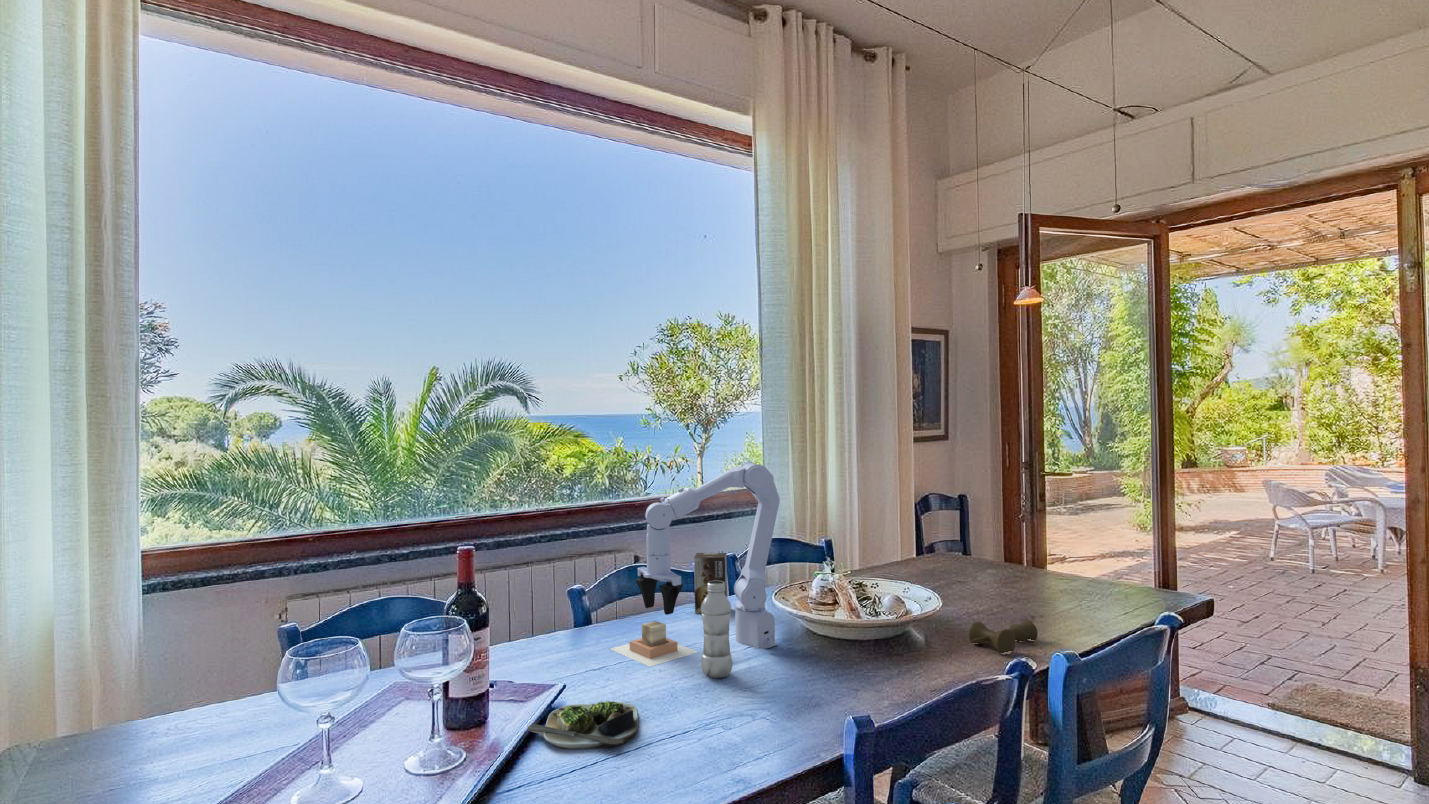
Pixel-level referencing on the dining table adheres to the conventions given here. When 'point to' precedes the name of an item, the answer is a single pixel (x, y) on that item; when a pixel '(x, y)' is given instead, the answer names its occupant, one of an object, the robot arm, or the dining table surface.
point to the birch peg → (653, 634)
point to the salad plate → (590, 725)
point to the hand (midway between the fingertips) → (659, 610)
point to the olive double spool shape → (1002, 635)
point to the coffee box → (708, 574)
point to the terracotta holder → (653, 648)
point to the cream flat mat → (656, 660)
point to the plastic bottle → (716, 631)
